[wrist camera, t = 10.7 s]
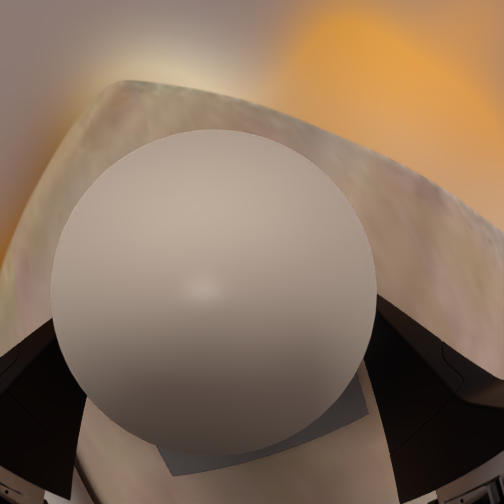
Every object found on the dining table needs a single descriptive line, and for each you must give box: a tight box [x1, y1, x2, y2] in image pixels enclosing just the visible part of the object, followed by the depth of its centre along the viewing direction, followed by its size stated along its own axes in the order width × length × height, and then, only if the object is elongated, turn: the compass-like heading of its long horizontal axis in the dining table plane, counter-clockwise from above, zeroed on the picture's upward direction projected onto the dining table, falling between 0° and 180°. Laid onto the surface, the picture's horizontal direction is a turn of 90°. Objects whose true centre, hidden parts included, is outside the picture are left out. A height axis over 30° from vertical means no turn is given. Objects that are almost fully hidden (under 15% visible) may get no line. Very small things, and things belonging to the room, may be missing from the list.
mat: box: [156, 373, 369, 476], centre depth 16 cm, size 16×14×1 cm
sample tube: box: [51, 129, 377, 456], centre depth 10 cm, size 5×5×13 cm
